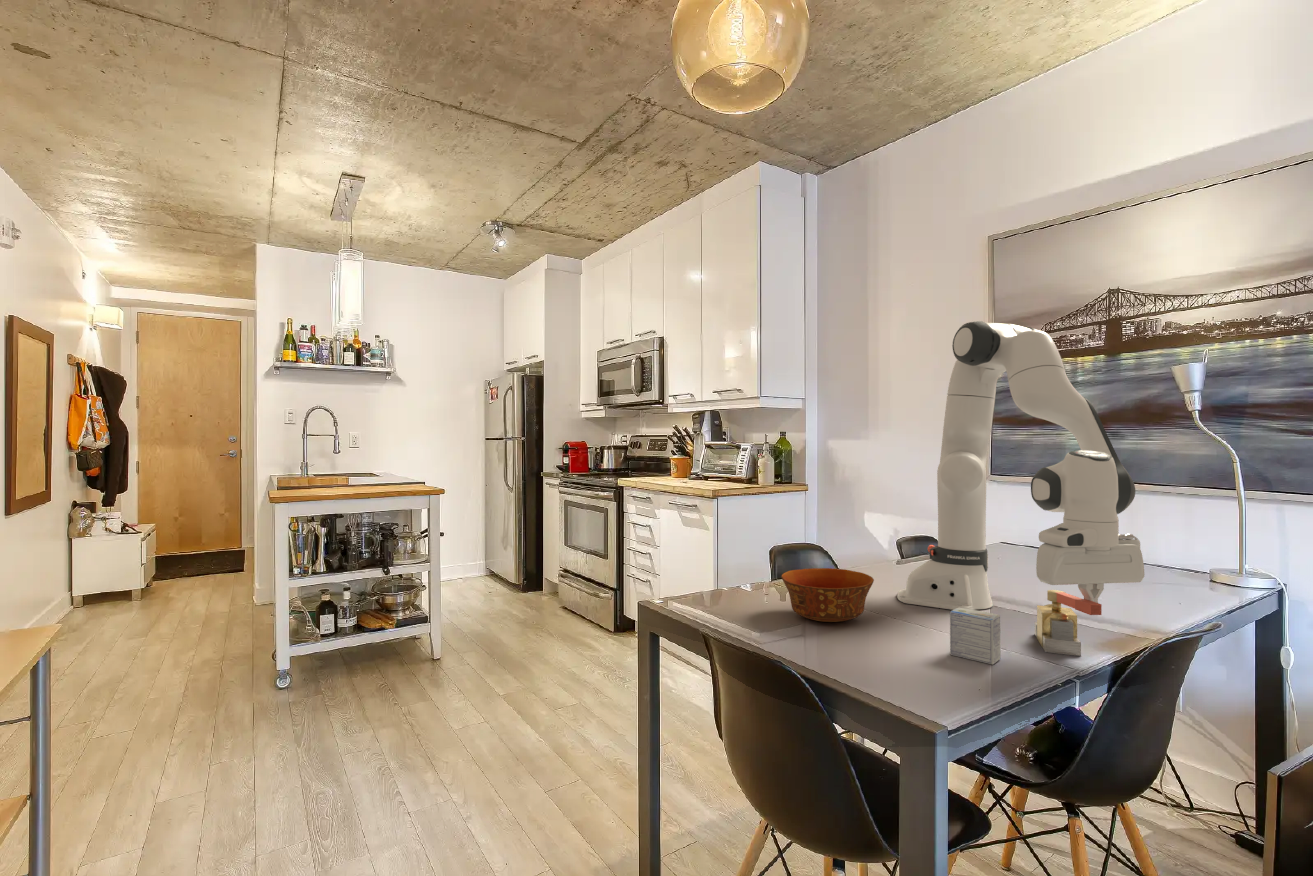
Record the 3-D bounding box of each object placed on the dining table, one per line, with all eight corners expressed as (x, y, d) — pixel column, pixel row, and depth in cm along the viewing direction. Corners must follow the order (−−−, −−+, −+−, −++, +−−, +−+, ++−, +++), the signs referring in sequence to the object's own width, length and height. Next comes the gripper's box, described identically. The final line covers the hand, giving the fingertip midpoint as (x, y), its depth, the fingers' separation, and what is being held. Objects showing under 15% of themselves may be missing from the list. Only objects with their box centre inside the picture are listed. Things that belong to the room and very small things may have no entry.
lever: (1043, 598, 131) (1043, 588, 131) (1058, 598, 131) (1058, 588, 131) (1087, 615, 118) (1087, 604, 118) (1104, 615, 119) (1104, 604, 119)
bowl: (793, 632, 137) (793, 586, 137) (772, 606, 158) (772, 567, 158) (888, 632, 138) (888, 586, 138) (854, 606, 159) (855, 566, 159)
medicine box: (1001, 660, 120) (1001, 614, 120) (993, 666, 117) (993, 619, 117) (958, 650, 126) (958, 606, 126) (949, 655, 123) (949, 610, 123)
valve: (1080, 656, 122) (1080, 610, 122) (1045, 652, 125) (1045, 607, 125) (1067, 637, 134) (1067, 596, 134) (1034, 634, 136) (1034, 593, 136)
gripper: (1125, 531, 126) (1125, 600, 126) (1030, 533, 124) (1030, 603, 124) (1153, 536, 120) (1153, 608, 120) (1054, 538, 118) (1054, 612, 118)
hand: (1090, 606), depth 122 cm, fingers closed, pressing on lever
